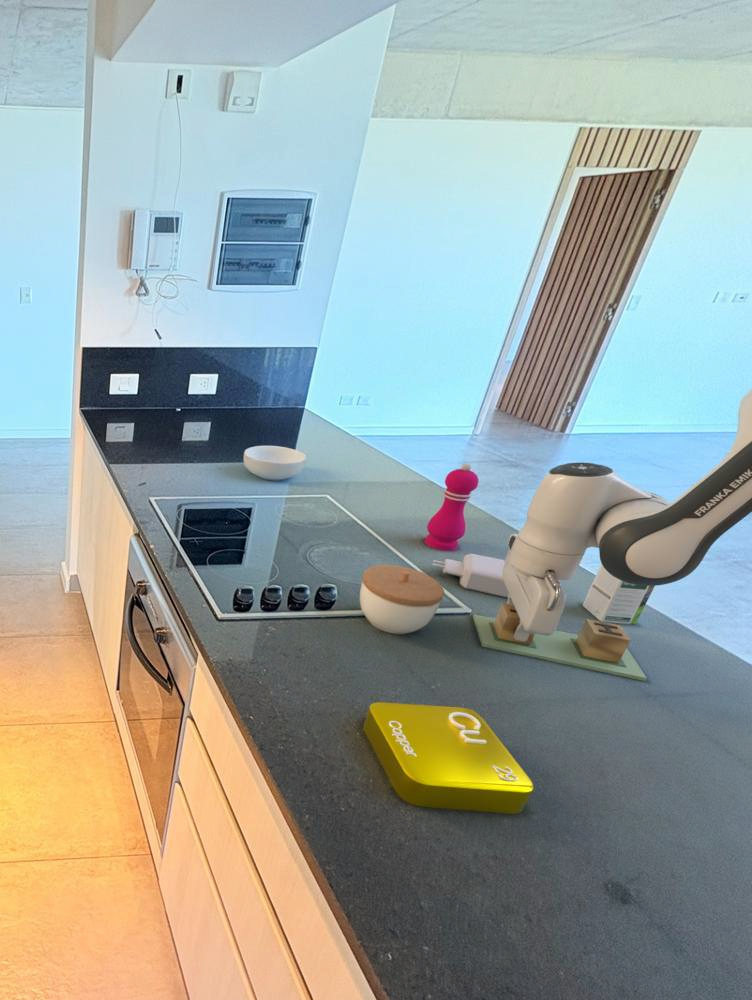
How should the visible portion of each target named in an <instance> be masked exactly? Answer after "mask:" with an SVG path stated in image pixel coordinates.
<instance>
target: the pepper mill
mask: <svg viewBox="0 0 752 1000" xmlns="http://www.w3.org/2000/svg"><path fill="white" fill-rule="evenodd" d="M471 469H472V464H471V463H470V462H469V463H468V462H464V463H463V464H462V465H461V467H460V468H457V469H454V470H451V471H450V472H448V474H447V475H446V476H445V480H444V484H445V486H446V488H445V489H444V492H443V494H442V495H443V496H444V499H443V502H442V505H441V506H440V508H439V510H437V512H436V513H435V514H433V516H432V517H431V518H430V519H429V521H428V523H427V525H426V530H427V532H428V534H427V535H426V537H425V540H424V544H426V545H427V546H428V547H430V548H431V549H436V550H438V551H442V552H443V551H445V552H453V551H456V550H457V549H458V546H459V540H460V539H462V538H463V537H464V536H465V534H466V521H465V515H464V510H465V506H466V504H467V502H468V501H470V500H471V496H472V492H473V491H475V490H476V489H477V488H478V486H479V476H478V474H476V473H475V472H474V471H472V470H471Z"/></svg>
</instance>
